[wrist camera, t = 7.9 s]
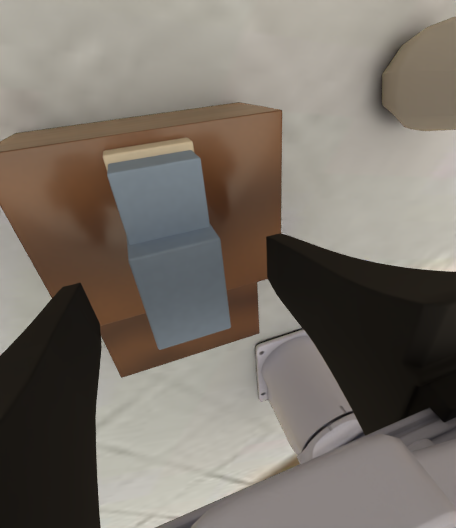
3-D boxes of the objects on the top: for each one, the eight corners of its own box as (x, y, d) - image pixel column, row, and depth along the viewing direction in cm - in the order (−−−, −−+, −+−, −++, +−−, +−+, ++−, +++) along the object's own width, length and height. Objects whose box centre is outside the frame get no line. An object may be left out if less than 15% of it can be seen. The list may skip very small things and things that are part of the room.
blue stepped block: (211, 287, 17) (232, 331, 14) (151, 304, 16) (159, 354, 13) (187, 136, 12) (210, 154, 9) (102, 150, 11) (98, 173, 8)
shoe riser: (252, 321, 27) (279, 368, 23) (120, 362, 25) (122, 424, 20) (239, 102, 17) (282, 109, 13) (14, 133, 15) (-29, 155, 10)
